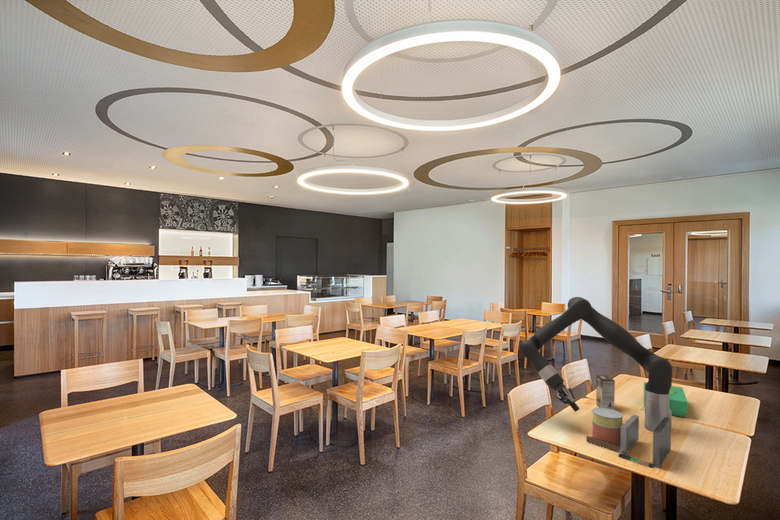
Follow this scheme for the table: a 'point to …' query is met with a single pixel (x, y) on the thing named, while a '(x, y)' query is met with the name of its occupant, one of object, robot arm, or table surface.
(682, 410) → the green box
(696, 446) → the table surface
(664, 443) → the frame
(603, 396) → the coffee box
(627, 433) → the steel plate
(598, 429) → the canned food
